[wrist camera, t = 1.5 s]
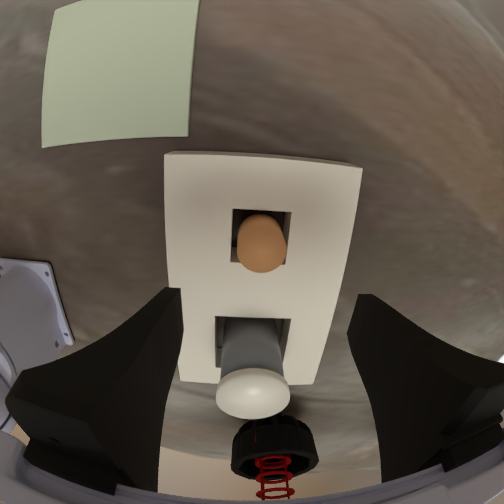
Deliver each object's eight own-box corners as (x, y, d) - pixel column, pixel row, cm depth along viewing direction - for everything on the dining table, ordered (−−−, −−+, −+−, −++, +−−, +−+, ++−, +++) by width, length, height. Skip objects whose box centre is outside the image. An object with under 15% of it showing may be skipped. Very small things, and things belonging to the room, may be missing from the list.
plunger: (279, 255, 19) (283, 273, 17) (236, 253, 19) (235, 271, 17) (283, 215, 18) (289, 229, 16) (238, 212, 18) (238, 226, 16)
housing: (308, 365, 27) (312, 384, 24) (184, 361, 26) (180, 380, 24) (349, 162, 19) (362, 168, 17) (173, 150, 18) (164, 154, 16)
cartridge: (275, 346, 25) (284, 418, 18) (221, 344, 25) (216, 417, 18) (281, 303, 23) (295, 377, 16) (222, 301, 23) (215, 376, 16)
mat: (188, 136, 18) (187, 136, 17) (45, 147, 17) (41, 147, 17) (202, -18, 13) (201, -21, 12) (58, 11, 12) (55, 9, 12)
